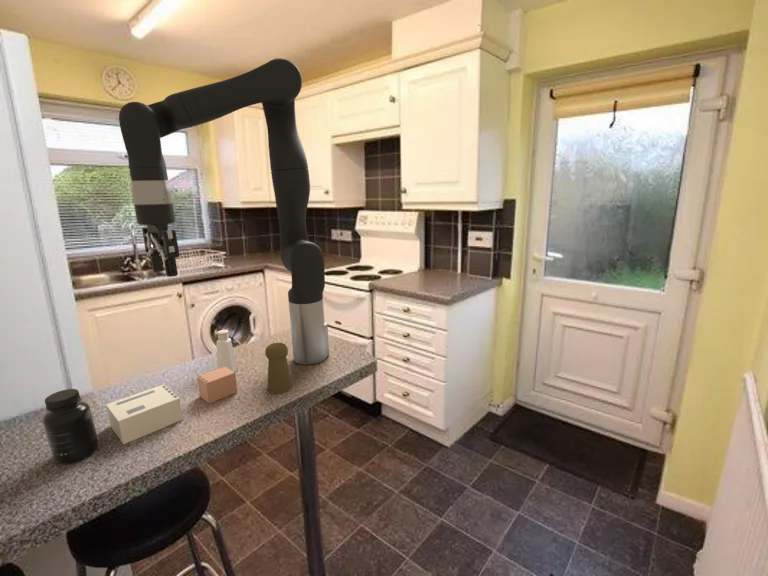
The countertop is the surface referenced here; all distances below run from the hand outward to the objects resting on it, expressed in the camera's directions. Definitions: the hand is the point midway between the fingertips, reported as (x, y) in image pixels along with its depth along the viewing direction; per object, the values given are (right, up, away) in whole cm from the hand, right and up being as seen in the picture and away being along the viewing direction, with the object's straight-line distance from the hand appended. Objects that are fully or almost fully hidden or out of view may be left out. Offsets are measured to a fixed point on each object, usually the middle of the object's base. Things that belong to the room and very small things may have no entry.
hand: (165, 273), depth 92 cm
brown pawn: (+25, -28, +4) cm, 38 cm away
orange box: (+12, -28, +2) cm, 31 cm away
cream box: (+1, -31, -9) cm, 33 cm away
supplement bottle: (-6, -34, -18) cm, 39 cm away
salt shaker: (+9, -25, +14) cm, 30 cm away
